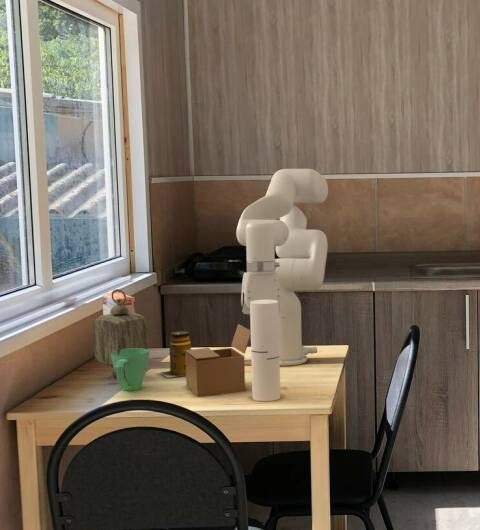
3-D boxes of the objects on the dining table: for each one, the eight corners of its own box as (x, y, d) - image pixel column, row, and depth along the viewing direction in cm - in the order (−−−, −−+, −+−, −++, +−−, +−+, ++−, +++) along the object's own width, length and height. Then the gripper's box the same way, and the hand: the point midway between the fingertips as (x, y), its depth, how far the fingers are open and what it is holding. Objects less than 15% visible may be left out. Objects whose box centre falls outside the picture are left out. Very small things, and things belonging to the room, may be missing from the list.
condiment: (196, 374, 255) (195, 333, 253) (167, 378, 250) (166, 336, 249) (187, 369, 261) (186, 329, 259) (159, 373, 256) (157, 332, 255)
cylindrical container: (253, 394, 232) (251, 299, 229) (281, 393, 232) (278, 299, 230) (251, 401, 225) (248, 304, 222) (279, 400, 225) (277, 303, 222)
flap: (231, 345, 245) (232, 345, 245) (243, 353, 235) (244, 353, 235) (238, 324, 245) (239, 324, 245) (250, 330, 235) (252, 331, 235)
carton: (232, 381, 246) (231, 345, 245) (245, 390, 236) (244, 353, 235) (186, 386, 240) (185, 350, 239) (197, 396, 230) (196, 358, 229)
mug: (118, 384, 244) (117, 348, 243) (154, 383, 244) (153, 347, 243) (101, 398, 229) (100, 360, 228) (140, 397, 229) (138, 359, 228)
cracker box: (138, 365, 266) (135, 296, 264) (117, 368, 263) (115, 298, 260) (123, 357, 278) (121, 291, 275) (104, 359, 274) (101, 293, 272)
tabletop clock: (149, 376, 252) (145, 289, 249) (121, 383, 245) (117, 293, 242) (120, 369, 261) (117, 285, 258) (93, 375, 254) (88, 289, 251)
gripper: (282, 264, 247) (283, 329, 249) (230, 267, 240) (231, 334, 242) (291, 267, 241) (292, 333, 242) (238, 270, 234) (239, 338, 236)
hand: (262, 333), depth 242 cm, fingers closed
